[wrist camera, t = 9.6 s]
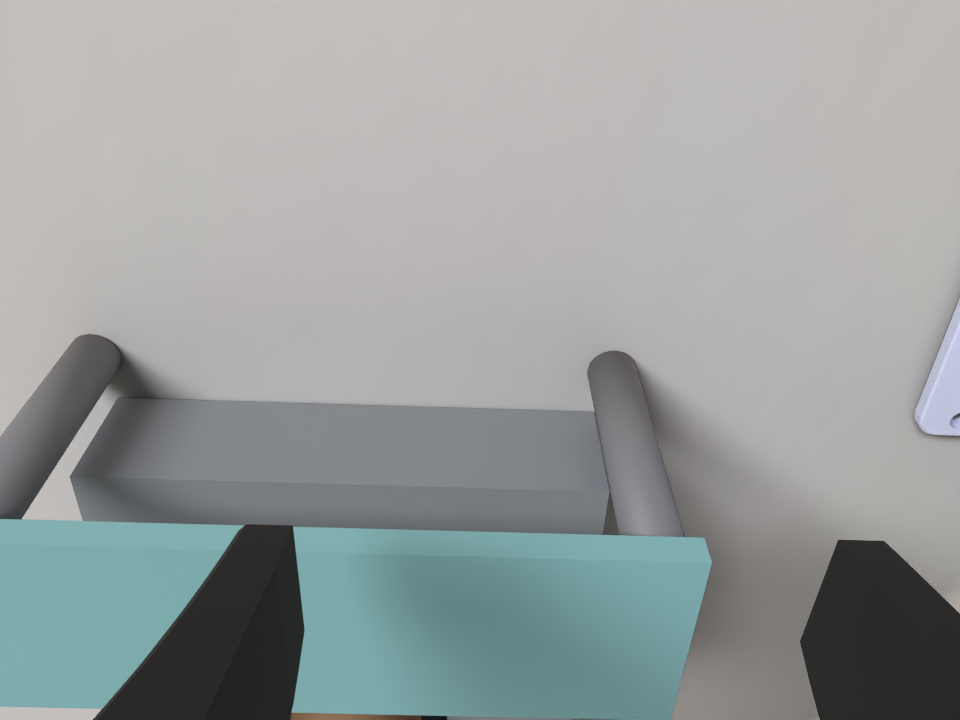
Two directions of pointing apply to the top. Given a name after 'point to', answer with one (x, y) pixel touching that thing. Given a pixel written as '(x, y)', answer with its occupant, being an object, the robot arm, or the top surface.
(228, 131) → the top surface
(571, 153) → the top surface
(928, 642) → the robot arm
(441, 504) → the socket block
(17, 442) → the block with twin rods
